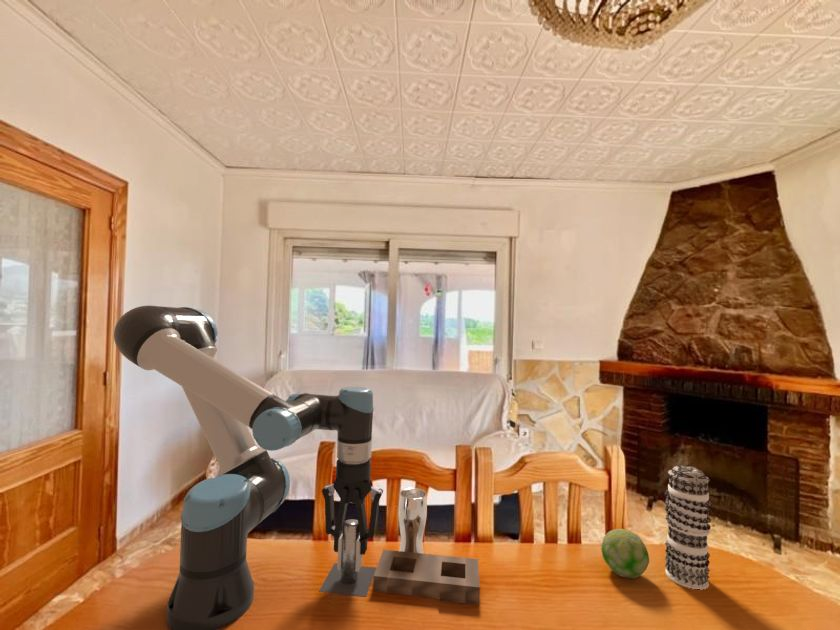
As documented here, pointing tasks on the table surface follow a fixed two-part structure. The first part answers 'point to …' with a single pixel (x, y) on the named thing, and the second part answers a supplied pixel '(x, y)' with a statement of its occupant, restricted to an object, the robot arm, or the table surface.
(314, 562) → the table surface
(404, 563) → the socket block
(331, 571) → the rubber mat
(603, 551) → the decorative ball
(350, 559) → the steel peg
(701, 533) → the decorative candle
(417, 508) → the beer glass
